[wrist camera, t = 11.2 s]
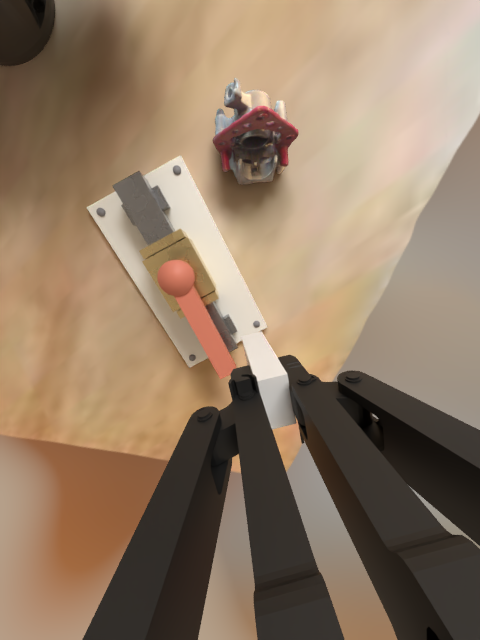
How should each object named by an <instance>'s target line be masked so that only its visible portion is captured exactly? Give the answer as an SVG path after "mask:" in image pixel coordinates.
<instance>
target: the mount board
mask: <svg viewBox="0 0 480 640" xmlns="http://www.w3.org/2000/svg"><path fill="white" fill-rule="evenodd" d="M144 177H145V178H146V179H147V180H148V182H149V184H150V186H151V187H152V188H153V187H155V186H157V185H158V186H159V188H160V189H161V191H162V193H163V195H164V196H165V198H166V200H167V202H168V204H169V206H170V207H171V208H170V209H168V210H166V211H165V213H166V214H167V216H168V218H169V220H170V222H171V224H172V225H173V227H174V229H175V231H177V230H178V229H180V228H181V229H182V230H183V231H184V232H186V234H187V236H188V238H190V239H191V240H192V241H193V243H194V245H195V247H196V248H197V250H198V252H199V254H200V256H201V258H202V260H203V261H204V263H205V265H206V267H207V269H208V271H209V272H210V274H211V276H212V278H213V280H214V282H215V283H216V289H217V291H218V293H219V299H217V300H215V303H216V305H217V306H218V308H219V310H220V312H221V314H222V315H223V317H224V316H226V315H228V314H229V315H230V317H231V319H232V321H233V323H234V324H235V326H236V328H237V332H235V333H233V335H234V337H235V339H236V342H237V343H238V342H240V341H242V338H241V336H244V335H248V334H252V333H257V332H259V331H261V330H263V329H265V328H267V325H266V323H265V321H264V319H263V317H262V315H261V313H260V311H259V309H258V307H257V305H256V303H255V301H254V299H253V297H252V295H251V293H250V291H249V289H248V287H247V285H246V283H245V281H244V279H243V277H242V275H241V273H240V271H239V269H238V267H237V265H236V263H235V261H234V260H233V258H232V256H231V254H230V252H229V250H228V248H227V246H226V244H225V242H224V240H223V238H222V236H221V234H220V232H219V230H218V228H217V226H216V224H215V222H214V220H213V218H212V216H211V214H210V212H209V210H208V208H207V206H206V204H205V202H204V200H203V198H202V196H201V194H200V192H199V190H198V188H197V186H196V184H195V182H194V180H193V178H192V176H191V174H190V172H189V170H188V168H187V166H186V165H185V163H184V161H183V159H182V157H181V155H180V156H178V157H176V158H174V159H173V160H171V161H169V162H167V163H165V164H164V165H162V166H160V167H158V168H156V169H155V170H153V171H151V172H149V173H147V174H146V175H144ZM122 204H123V203H122V201H121V199H120V198H119V196H118V194H117V193H116V191H115V192H113V193H111V194H110V195H108V196H106V197H104V198H102V199H101V200H99V201H97V202H95V203H93V204H92V205H90V206H88V207H87V209H88V211H89V212H90V214H91V215H92V217H93V218H94V220H95V222H96V223H97V225H98V226H99V228H100V229H101V231H102V232H103V234H104V236H105V237H106V239H107V240H108V242H109V243H110V245H111V246H112V248H113V250H114V251H115V253H116V254H117V256H118V257H119V259H120V261H121V262H122V264H123V265H124V267H125V268H126V270H127V271H128V273H129V275H130V276H131V278H132V279H133V281H134V282H135V284H136V285H137V287H138V289H139V290H140V292H141V293H142V295H143V296H144V298H145V300H146V301H147V303H148V304H149V306H150V307H151V309H152V310H153V312H154V314H155V315H156V317H157V318H158V320H159V321H160V323H161V324H162V326H163V328H164V329H165V331H166V332H167V334H168V335H169V337H170V339H171V340H172V342H173V343H174V345H175V346H176V348H177V349H178V351H179V353H180V354H181V356H182V357H183V359H184V360H185V362H186V363H187V365H188V367H189V368H190V367H192V366H194V365H196V364H198V363H200V362H202V361H204V360H206V359H207V358H208V356H207V354H206V352H205V351H204V349H203V347H202V345H201V343H200V342H199V340H198V338H197V336H196V335H195V333H194V331H193V329H192V327H191V326H190V324H189V322H188V320H187V318H186V317H183V318H181V319H180V317H179V316H178V314H177V311H175V312H173V311H172V310H171V308H170V306H169V305H168V303H167V301H166V300H165V298H164V297H163V295H162V293H161V292H160V290H159V288H158V287H157V285H156V284H155V282H154V280H153V279H152V277H151V275H150V274H149V272H148V271H147V269H146V267H145V266H144V264H143V262H142V261H144V260H146V259H143V257H142V255H141V254H140V252H139V251H140V250H142V249H143V248H145V247H147V246H148V245H147V243H146V241H145V240H144V238H143V236H142V235H141V233H140V231H139V230H138V228H137V226H134V225H133V224H132V223H131V221H130V219H129V218H128V216H127V214H126V213H125V211H124V209H123V208H122V206H121V205H122Z"/></svg>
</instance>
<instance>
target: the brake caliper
mask: <svg viewBox="0 0 480 640" xmlns="http://www.w3.org/2000/svg"><path fill="white" fill-rule="evenodd" d="M224 105H225V106H226V107H229V108H233V109H234V116H233V117H232V118H227V117H226V116H225V114H224V112H223V110H222V109H218V110H217V115H216V118H215V124H216V131H215V135H216V136H215V137H214V138H213V143H214V145H215V147H216V149H217V150H218V151H219V153H220V155H221V159H222V169H223V171H224V172H227V171H229V170H230V169H232V170H233V172H234V175H235V177H236V178H237V181H238V183H239V184H251V183H255V182H271V181H273V177H274V174H275V169H276V171H277V174H280V173H282V171H283V170H284V168H285V166H287V165H288V147H289V146H290V145H291V143H292V142H293V141H294V140H295V139H296V138H297V136H298V129H296V128H295V127H294V126H293V125H292V124H290V123H288V121H287V114H286V106H285V102H284V101H282V100H279V101H277V102H276V106H275V109H274V111H273V110H272V109H271V102H270V98H269V96H268V94H267V93H265V92H263V91H260V90H250V91H247V92H245V93H244V92H242V91H241V85H240V81H239V80H238V79H237V78H235V79H234V83H230V84H229V85H228V86H227V87H226V90H225V97H224Z"/></svg>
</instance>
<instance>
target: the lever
mask: <svg viewBox="0 0 480 640" xmlns="http://www.w3.org/2000/svg"><path fill="white" fill-rule="evenodd" d="M157 279H158V283H159V286H160V287H161V289H162V290H163V291H164V292H166V293H167V294H169V295H172V296H174V297H175V299H176V301H177V302H178V304H179V306H180V308H181V310H182V311H183V313H184V315H185V317H186V318H187V320H188V322H189V324H190V326H191V327H192V329H193V331H194V333H195V335H196V336H197V338H198V340H199V342H200V343H201V345H202V347H203V349H204V351H205V352H206V354H207V356H208V358H209V360H210V361H211V363H212V365H213V367H214V368H215V370H216V372H217V374H218V376H219V377H220V379H222V378H224V377H226V376H228V375H230V374H231V372H232V370H233V369H236V364H235V362H234V361H233V359H232V357H231V355H230V353H229V351H228V349H227V347H226V345H225V344H224V342H223V340H222V338H221V336H220V334H219V332H218V330H217V328H216V326H215V325H214V323H213V321H212V319H211V317H210V315H209V313H208V311H207V309H206V308H205V306H204V304H203V302H202V300H201V298H200V296H199V294H198V292H197V290H196V289H195V287H194V282H195V273H194V270H193V268H192V267H191V266H190V265H189V264H188V263H187V262H185V261H182V260H171V261H168V262H166V263H164V264H163V265H162V266H161V267H160V269H159V271H158V275H157Z"/></svg>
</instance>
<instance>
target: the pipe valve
mask: <svg viewBox="0 0 480 640" xmlns="http://www.w3.org/2000/svg"><path fill="white" fill-rule="evenodd" d="M113 188H114V189H115V191H116V193H117V194H118V196H119V198H120V199H121V201H122V203H123V204H122V205H121V206H122V208H123V209H124V211H125V213H126V214H127V216H128V218H129V219H130V221H131V223H132V224H133V225H134V226H137V228H138V230H139V231H140V233H141V235H142V236H143V238H144V240H145V241H146V243H147V245H148V246H147V247H145V248H143V249H142V250H140V251H139V252H140V254H141V255H142V257H143V259H146V260H144V261H142V262H143V264H144V266H145V267H146V269H147V271H148V272H149V274H150V275H151V277H152V279H153V280H154V282H155V284H156V285H157V287H158V288H159V290H160V292H161V293H162V295H163V297H164V298H165V300H166V301H167V303H168V305H169V306H170V308H171V310H172V311H173V312H175V311H177V314H178V316H179V317H180V319H181V318H183V317H185V315H184V313H183V311H182V310H181V308H180V306H179V304H178V302H177V301H176V299H175V297H174V296H172V295H169V294H167V293H166V292H164V291H163V290H162V289H161V287H160V286H159V283H158V279H157V275H158V271H159V269H160V267H161V266H162V265H163V264H164V263H166V262H168V261H171V260H182V261H185V262H187V263H188V264H189V265H190V266H191V267H192V268H193V270H194V273H195V282H194V287H195V289H196V290H197V292H198V294H199V296H200V298H201V300H202V302H203V304H204V306H205V308H206V309H207V311H208V313H209V315H210V317H211V319H212V321H213V323H214V325H215V326H216V328H217V330H218V332H219V334H220V336H221V338H222V340H223V342H224V344H225V345H226V347H227V349H228V351H229V352H230V351H232V350H234V349H236V348H238V346H237V342H236V339H235V337H234V335H233V333H235V332H237V328H236V326H235V324H234V323H233V321H232V319H231V317H230V315H229V314H228V315H226V316H224V317H223V315H222V314H221V312H220V310H219V308H218V306H217V305H216V303H215V300H217V299H219V293H218V291H217V289H216V283H215V282H214V280H213V278H212V276H211V274H210V272H209V271H208V269H207V267H206V265H205V263H204V261H203V260H202V258H201V256H200V254H199V252H198V250H197V248H196V247H195V245H194V243H193V241H192V240H191V239H190V238H188V236H187V234H186V232H184V231H183V230H182V229H181V228H180V229H178V230H177V231H175V229H174V227H173V225H172V224H171V222H170V220H169V218H168V216H167V214H166V213H165V211H166V210H168V209H170V208H171V207H170V206H169V204H168V202H167V200H166V198H165V196H164V195H163V193H162V191H161V189H160V188H159V186H158V185H157V186H155V187H153V188H152V187H151V186H150V184H149V182H148V180H147V179H146V178H145V177H144V176H143V175H142V174H141V172H140V171H138V172H136V173H134V174H133V175H131V176H129V177H127V178H125V179H124V180H122V181H120V182H118V183H116V184H115V185H113Z"/></svg>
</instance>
